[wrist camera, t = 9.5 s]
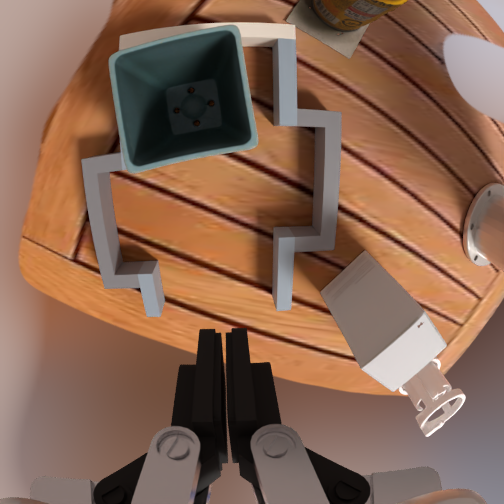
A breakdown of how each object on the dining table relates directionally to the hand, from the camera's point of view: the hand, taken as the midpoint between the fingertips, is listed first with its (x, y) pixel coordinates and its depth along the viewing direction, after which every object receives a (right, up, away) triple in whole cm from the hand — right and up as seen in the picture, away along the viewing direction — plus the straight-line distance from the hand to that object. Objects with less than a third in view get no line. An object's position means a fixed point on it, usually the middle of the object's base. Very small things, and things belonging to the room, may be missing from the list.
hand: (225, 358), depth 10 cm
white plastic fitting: (+24, -11, +29) cm, 39 cm away
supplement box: (+14, 0, +23) cm, 27 cm away
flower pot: (-4, +17, +14) cm, 22 cm away
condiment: (+9, +28, +11) cm, 31 cm away
